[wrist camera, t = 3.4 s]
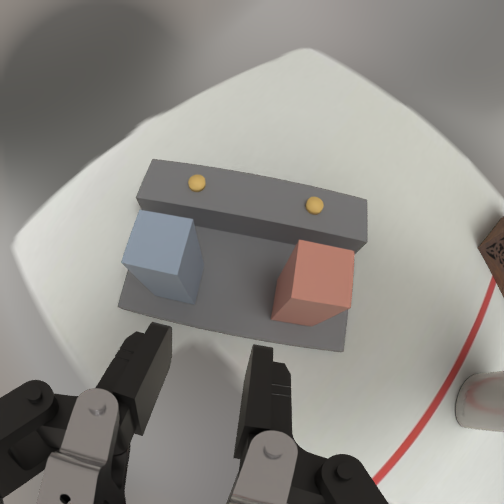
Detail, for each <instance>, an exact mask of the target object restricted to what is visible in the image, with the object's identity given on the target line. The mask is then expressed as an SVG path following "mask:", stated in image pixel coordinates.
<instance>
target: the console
mask: <svg viewBox="0 0 504 504" xmlns="http://www.w3.org/2000/svg"><path fill="white" fill-rule="evenodd" d="M136 199H137V201H138V203H139V205H140V207H141V209H142V210H144V211H150V212H156V213H162V214H167V215H173V216H178V217H184V218H190V219H193V221H194V225H195V229H196V234H197V238H198V242H199V246H200V250H201V254H202V258H203V262H204V268H203V272H202V277H201V281H200V285H199V289H198V293H197V298H196V302H195V305H194V304H189V303H185V302H180V301H176V300H172V299H167V298H163V297H159V296H155V295H154V294H153V293H152V292H151V291H150V290H149V289H148V288H147V287H146V286H145V285H143V284H142V283H141V282H140V281H139V280H138V279H137V278H136V277H135V276H134V275H133V274H132V273H131V272H130V271H129V270H128V272H127V275H126V279H125V282H124V286H123V289H122V293H121V296H120V300H119V304H118V307H119V308H121V309H125V310H128V311H132V312H136V313H139V314H143V315H147V316H151V317H154V318H158V319H162V320H166V321H170V322H174V323H179V324H183V325H187V326H191V327H196V328H200V329H205V330H209V331H214V332H219V333H224V334H229V335H234V336H239V337H244V338H250V339H255V340H261V341H267V342H273V343H279V344H285V345H292V346H298V347H305V348H313V349H320V350H328V351H336V352H343V351H344V343H345V334H346V326H347V316H348V309H347V310H345V311H343V312H341V313H339V314H337V315H335V316H333V317H331V318H329V319H327V320H325V321H323V322H321V323H318V324H316V325H314V326H312V327H311V326H305V325H299V324H292V323H286V322H281V321H275V320H271V315H272V309H273V303H274V297H275V291H276V285H277V279H278V277H279V276H280V274H281V272H282V270H283V268H284V266H285V265H286V263H287V261H288V259H289V257H290V255H291V254H292V252H293V250H294V248H295V246H296V244H297V242H298V241H299V240H304V241H309V242H314V243H319V244H323V245H328V246H333V247H338V248H343V249H347V250H352V251H354V254H355V253H356V252H357V251H359V250H360V249H361V248H362V247H363V246H364V245H365V244H366V243H367V200H366V199H362V198H358V197H355V196H351V195H347V194H343V193H339V192H335V191H330V190H326V189H322V188H318V187H313V186H309V185H304V184H300V183H295V182H290V181H286V180H281V179H276V178H271V177H266V176H261V175H255V174H250V173H244V172H239V171H233V170H227V169H221V168H215V167H208V166H202V165H195V164H188V163H180V162H173V161H165V160H157V159H152V161H151V164H150V166H149V168H148V170H147V173H146V175H145V177H144V179H143V182H142V184H141V186H140V189H139V191H138V194H137V196H136Z"/></svg>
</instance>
